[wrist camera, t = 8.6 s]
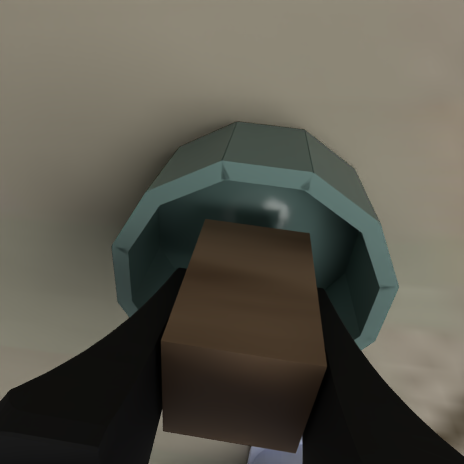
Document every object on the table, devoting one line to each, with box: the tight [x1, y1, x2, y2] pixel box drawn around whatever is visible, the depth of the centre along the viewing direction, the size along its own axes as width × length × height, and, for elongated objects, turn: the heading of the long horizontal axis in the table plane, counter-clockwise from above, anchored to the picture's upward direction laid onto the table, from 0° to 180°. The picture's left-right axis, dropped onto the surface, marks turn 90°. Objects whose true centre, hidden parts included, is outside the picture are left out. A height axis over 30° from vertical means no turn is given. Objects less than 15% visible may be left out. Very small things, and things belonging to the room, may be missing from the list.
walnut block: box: [161, 219, 327, 454], centre depth 12 cm, size 4×4×6 cm
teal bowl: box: [112, 122, 399, 350], centre depth 15 cm, size 10×10×4 cm
